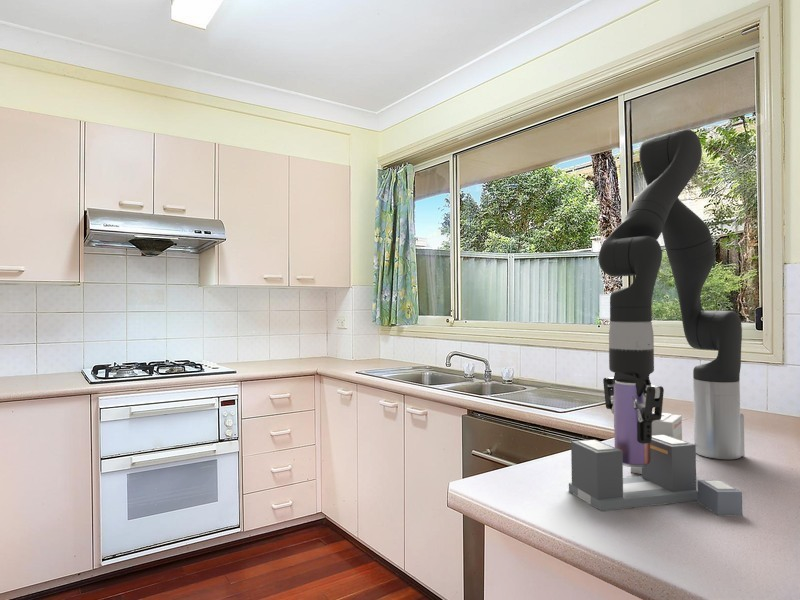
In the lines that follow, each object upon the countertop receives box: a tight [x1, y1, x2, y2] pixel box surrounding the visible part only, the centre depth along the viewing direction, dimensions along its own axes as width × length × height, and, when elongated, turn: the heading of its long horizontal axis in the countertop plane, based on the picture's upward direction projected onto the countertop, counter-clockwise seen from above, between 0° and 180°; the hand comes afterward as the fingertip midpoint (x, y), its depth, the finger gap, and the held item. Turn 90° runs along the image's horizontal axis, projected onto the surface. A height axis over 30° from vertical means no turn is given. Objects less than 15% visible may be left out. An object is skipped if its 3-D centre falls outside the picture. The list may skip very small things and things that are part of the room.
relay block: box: [697, 479, 744, 516], centre depth 90 cm, size 6×4×4 cm, turn 179°
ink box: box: [630, 411, 683, 475], centre depth 110 cm, size 9×8×12 cm
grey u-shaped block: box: [568, 435, 698, 512], centre depth 96 cm, size 20×10×10 cm, turn 103°
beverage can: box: [613, 380, 650, 468], centre depth 96 cm, size 6×6×15 cm
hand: (632, 438), depth 96 cm, fingers closed on beverage can, 6 cm apart
